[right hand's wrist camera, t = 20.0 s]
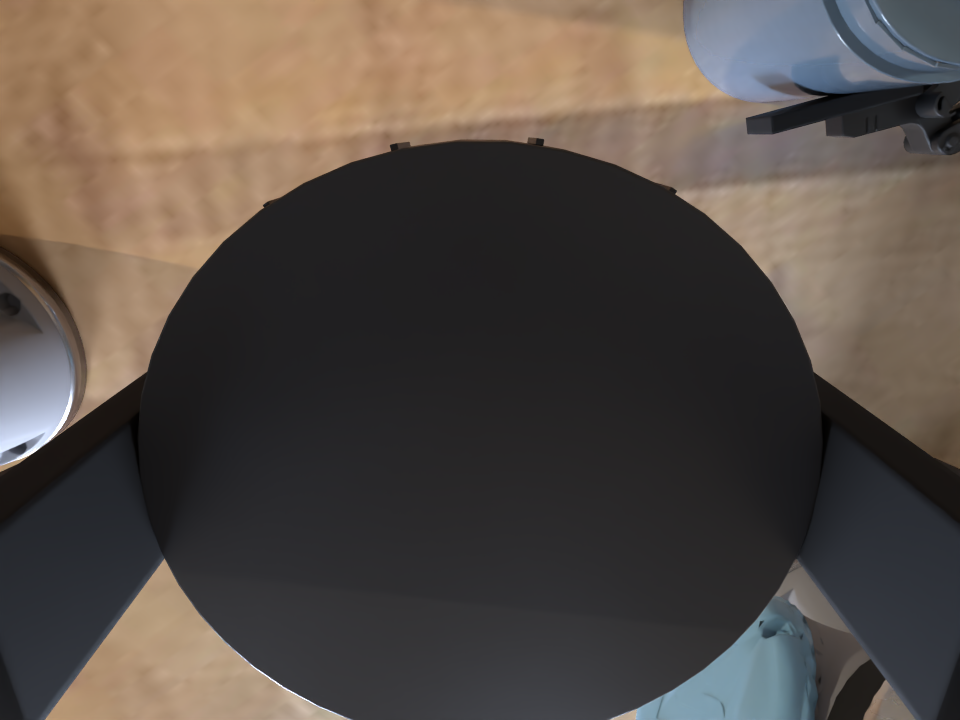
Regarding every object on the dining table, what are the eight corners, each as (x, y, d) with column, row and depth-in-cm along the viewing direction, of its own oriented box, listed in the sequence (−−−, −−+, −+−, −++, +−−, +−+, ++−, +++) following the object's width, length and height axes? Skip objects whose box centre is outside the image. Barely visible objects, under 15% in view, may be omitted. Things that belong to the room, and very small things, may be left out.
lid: (623, 704, 14) (648, 799, 12) (152, 578, 13) (91, 660, 11) (877, 266, 11) (971, 298, 9) (261, 36, 10) (200, 8, 7)
